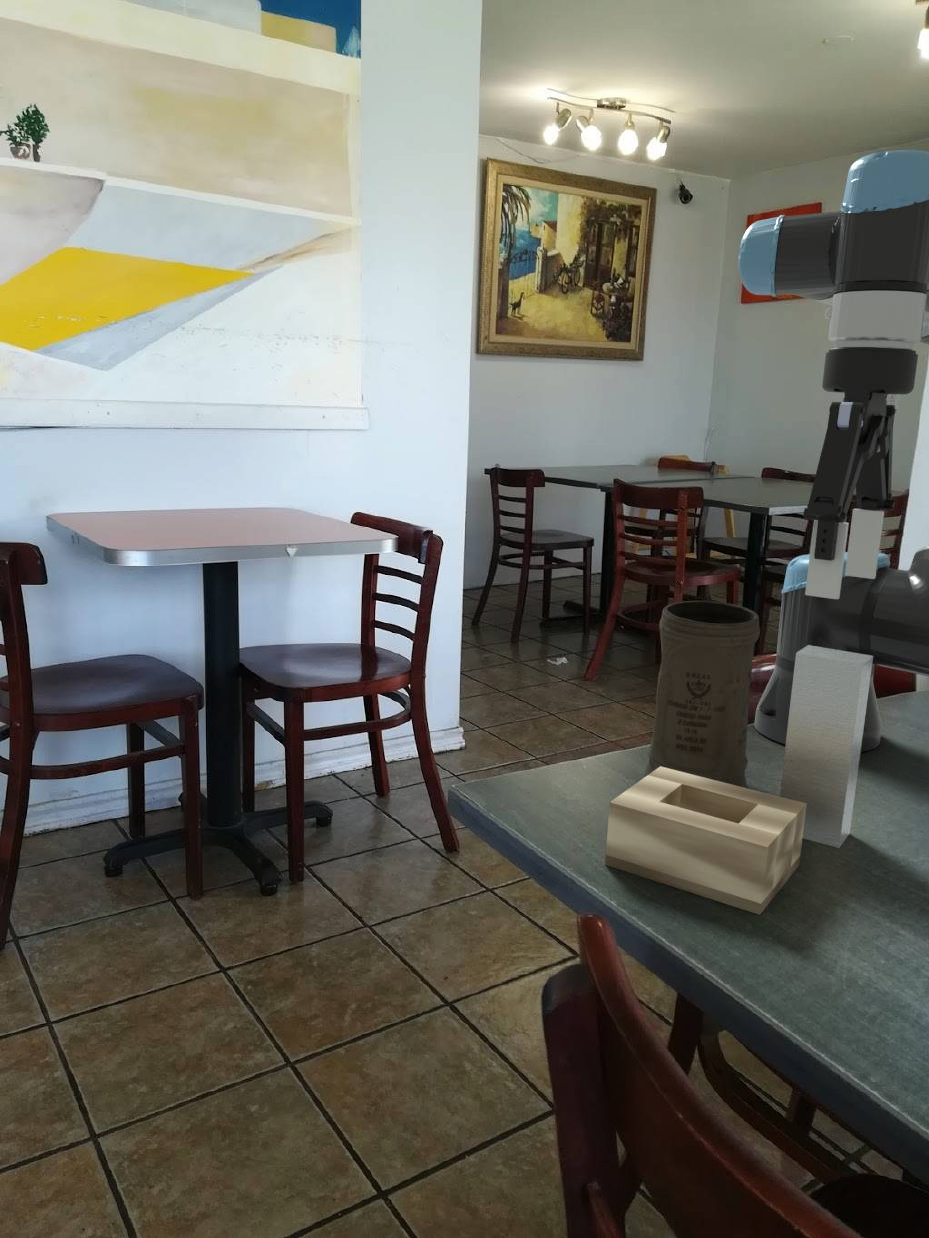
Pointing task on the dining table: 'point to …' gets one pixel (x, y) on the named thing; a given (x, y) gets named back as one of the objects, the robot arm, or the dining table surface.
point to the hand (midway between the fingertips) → (842, 586)
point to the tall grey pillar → (826, 739)
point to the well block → (706, 837)
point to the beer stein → (704, 690)
